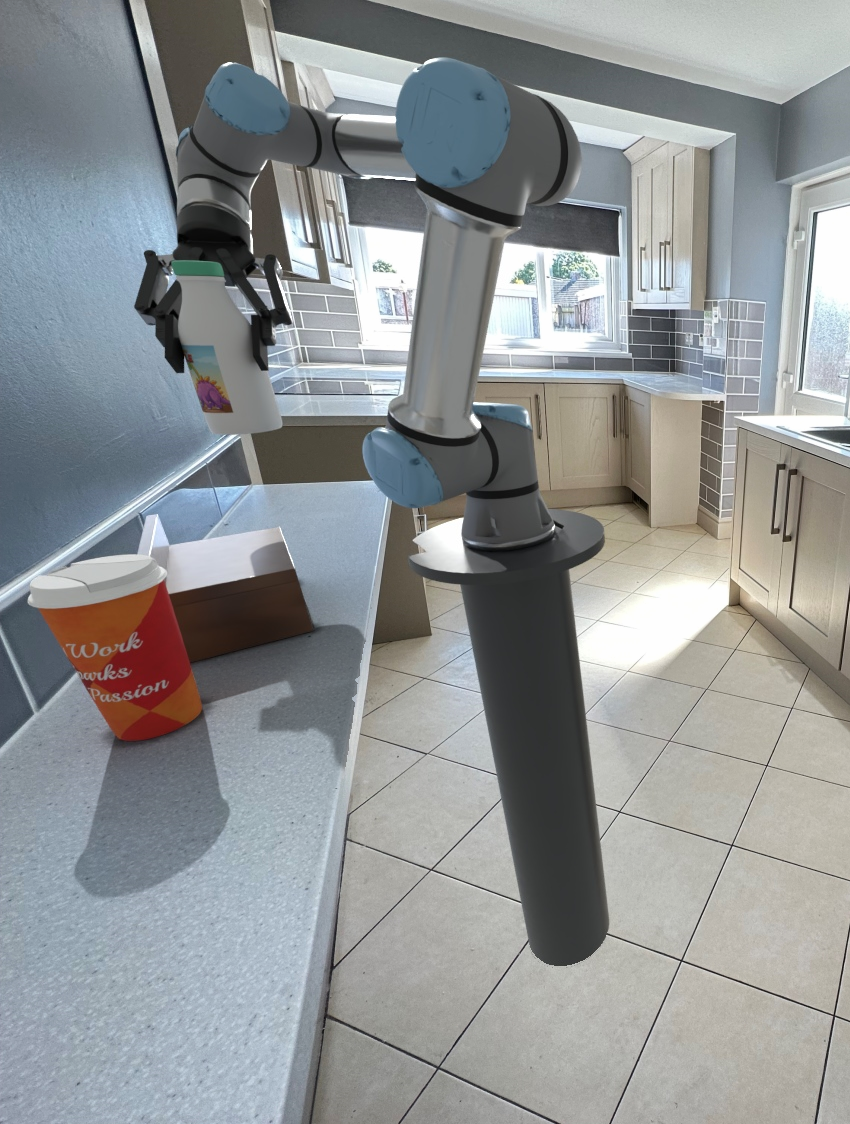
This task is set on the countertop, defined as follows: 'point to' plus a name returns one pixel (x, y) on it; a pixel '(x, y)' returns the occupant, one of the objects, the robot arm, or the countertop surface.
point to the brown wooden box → (229, 589)
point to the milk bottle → (222, 354)
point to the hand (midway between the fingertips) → (218, 364)
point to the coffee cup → (122, 641)
